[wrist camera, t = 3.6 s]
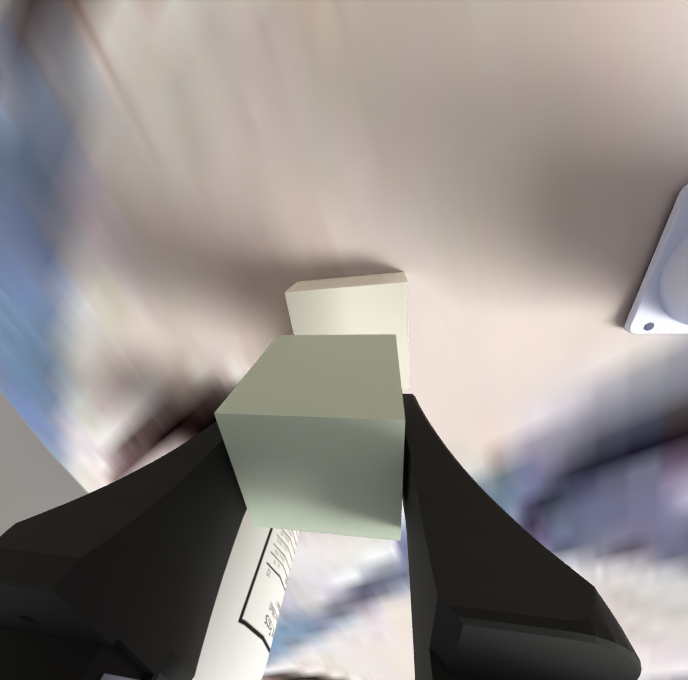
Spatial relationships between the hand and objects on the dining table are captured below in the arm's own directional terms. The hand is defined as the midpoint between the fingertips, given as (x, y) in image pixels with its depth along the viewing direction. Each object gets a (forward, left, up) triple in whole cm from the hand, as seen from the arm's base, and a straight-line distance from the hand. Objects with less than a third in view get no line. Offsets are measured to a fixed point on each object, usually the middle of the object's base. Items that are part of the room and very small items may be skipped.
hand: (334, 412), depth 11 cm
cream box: (0, 0, -9) cm, 9 cm away
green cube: (0, 0, -2) cm, 2 cm away
